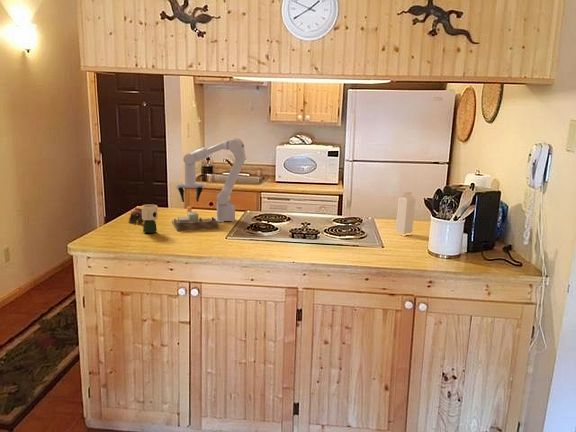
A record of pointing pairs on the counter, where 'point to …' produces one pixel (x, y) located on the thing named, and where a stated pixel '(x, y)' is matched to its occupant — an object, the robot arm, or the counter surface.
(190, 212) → the rod with orange block
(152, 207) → the character mug
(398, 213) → the milk
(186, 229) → the lane shelf
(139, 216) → the dark brown lumpy figurine
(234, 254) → the counter surface
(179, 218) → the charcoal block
